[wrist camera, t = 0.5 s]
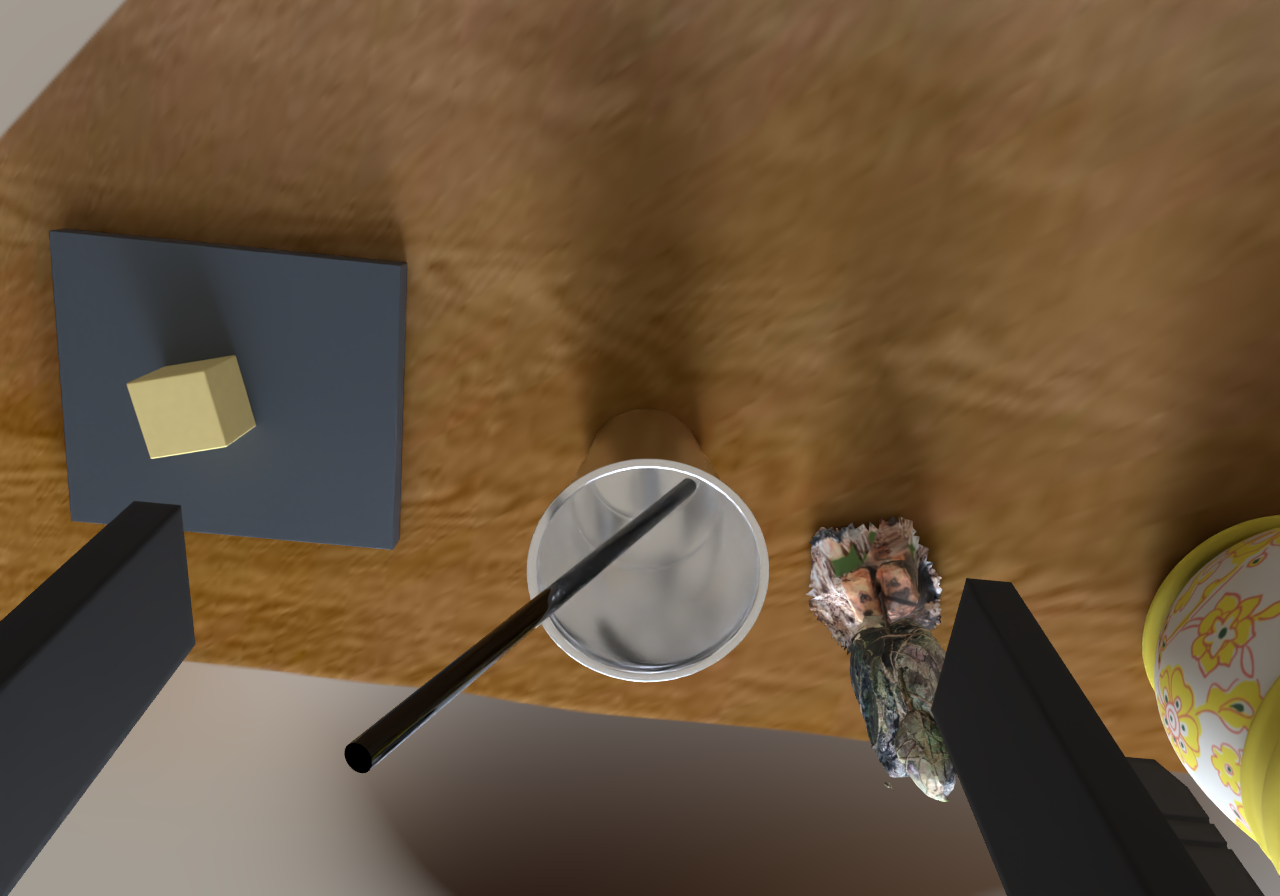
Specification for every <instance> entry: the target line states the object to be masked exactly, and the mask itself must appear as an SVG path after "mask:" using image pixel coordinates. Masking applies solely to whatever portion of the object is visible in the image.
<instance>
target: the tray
mask: <svg viewBox="0 0 1280 896" xmlns="http://www.w3.org/2000/svg"><path fill="white" fill-rule="evenodd" d="M49 238H50V251H51V264H52V277H53V290H54V303H55V316H56V329H57V342H58V355H59V368H60V381H61V394H62V407H63V420H64V433H65V446H66V459H67V472H68V485H69V498H70V511H71V521H78V522H89V523H100V524H109V523H110V522H111V521H112V520H113V519H114V518H115V517H117V516H118V515H119V514H120V513H121V512H122V511H123V510H124V509H125V508H127V507H128V506H129V505H130V504H131V503H132V502H133V501H142V502H152V503H163V504H174V505H181V510H182V520H183V530H184V531H190V532H201V533H212V534H223V535H234V536H245V537H256V538H267V539H279V540H290V541H301V542H312V543H323V544H334V545H345V546H356V547H368V548H379V549H390V550H393V549H394V547H395V546H396V544H397V543H398V541H399V534H400V500H401V465H402V431H403V396H404V362H405V327H406V293H407V263H406V262H396V261H386V260H376V259H366V258H356V257H346V256H336V255H326V254H316V253H306V252H296V251H286V250H276V249H266V248H256V247H246V246H236V245H226V244H216V243H206V242H196V241H185V240H175V239H165V238H155V237H145V236H135V235H125V234H115V233H105V232H95V231H85V230H75V229H58V230H50V231H49ZM232 355H235V356H236V358H237V361H238V365H239V368H240V372H241V375H242V379H243V382H244V385H245V389H246V392H247V396H248V399H249V403H250V406H251V410H252V413H253V416H254V420H255V423H256V426H255V427H254V428H252V429H251V430H249V431H248V432H247V433H245V434H244V435H242V436H241V437H239V438H238V439H237V440H235V441H234V442H232V443H231V444H229V445H228V446H227V447H223V448H216V449H210V450H204V451H198V452H192V453H185V454H179V455H173V456H167V457H161V458H154V459H151V458H150V455H149V452H148V448H147V445H146V442H145V439H144V436H143V433H142V430H141V427H140V424H139V421H138V418H137V415H136V412H135V409H134V406H133V403H132V400H131V396H130V393H129V390H128V387H127V383H128V382H131V381H133V380H135V379H137V378H140V377H142V376H144V375H146V374H149V373H151V372H153V371H156V370H158V369H160V368H162V367H165V366H171V365H177V364H183V363H189V362H195V361H201V360H207V359H213V358H219V357H225V356H232Z"/></svg>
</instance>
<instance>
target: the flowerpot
mask: <svg viewBox="0 0 1280 896" xmlns="http://www.w3.org/2000/svg"><path fill="white" fill-rule="evenodd" d="M1142 652H1143V661H1144V666H1145V670H1146V673H1147V676H1148V679H1149V681H1150V683H1151V685H1152V687H1153V689H1154V691H1155V692H1156V698H1157V704H1158V709H1159V712H1160V716H1161V719H1162V722H1163V725H1164V728H1165V730H1166V733H1167V735H1168V738H1169V740H1170V742H1171V744H1172V746H1173V748H1174V750H1175V752H1176V754H1177V755H1178V757H1179V759H1180V760H1181V762H1182V763H1183V765H1184V766H1185V768H1186V769H1187V771H1188V772H1189V774H1190V775H1191V776H1192V778H1193V779H1194V780H1195V781H1196V783H1197V784H1198V785H1199V786H1200V788H1201V789H1202V790H1203V791H1204V793H1205V794H1206V795H1207V796H1208V797H1209V798H1210V799H1211V800H1212V801H1213V802H1214V803H1215V804H1216V806H1217V807H1218V808H1219V809H1220V810H1221V811H1223V813H1224V814H1225V815H1226V816H1227V817H1228V818H1229V819H1230V820H1231V821H1233V822H1234V823H1235V824H1236V825H1237V826H1238V827H1239V828H1241V829H1242V830H1243V831H1244V832H1245V833H1246V834H1247V835H1249V836H1250V837H1251V838H1252V839H1253V840H1255V841H1256V842H1257V843H1258V844H1259V845H1260V847H1261V849H1262V850H1263V851H1264V852H1265V854H1266V855H1267V856H1268V858H1269V859H1270V860H1271V861H1272V862H1273V864H1274V866H1275V868H1276V870H1277V872H1278V874H1279V876H1280V515H1273V516H1266V517H1261V518H1257V519H1253V520H1249V521H1246V522H1243V523H1240V524H1237V525H1234V526H1232V527H1230V528H1227V529H1225V530H1223V531H1221V532H1219V533H1217V534H1215V535H1214V536H1212V537H1210V538H1209V539H1207V540H1206V541H1204V542H1203V543H1201V544H1200V545H1198V546H1197V547H1196V548H1195V549H1193V550H1192V551H1191V552H1190V553H1188V554H1187V555H1186V556H1185V557H1184V558H1183V559H1182V560H1181V561H1180V562H1179V563H1178V564H1177V565H1176V566H1175V567H1174V568H1173V570H1172V571H1171V572H1170V573H1169V575H1168V576H1167V577H1166V579H1165V580H1164V581H1163V583H1162V584H1161V586H1160V588H1159V589H1158V591H1157V593H1156V595H1155V597H1154V599H1153V601H1152V603H1151V605H1150V608H1149V611H1148V614H1147V617H1146V621H1145V624H1144V630H1143V639H1142Z"/></svg>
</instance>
